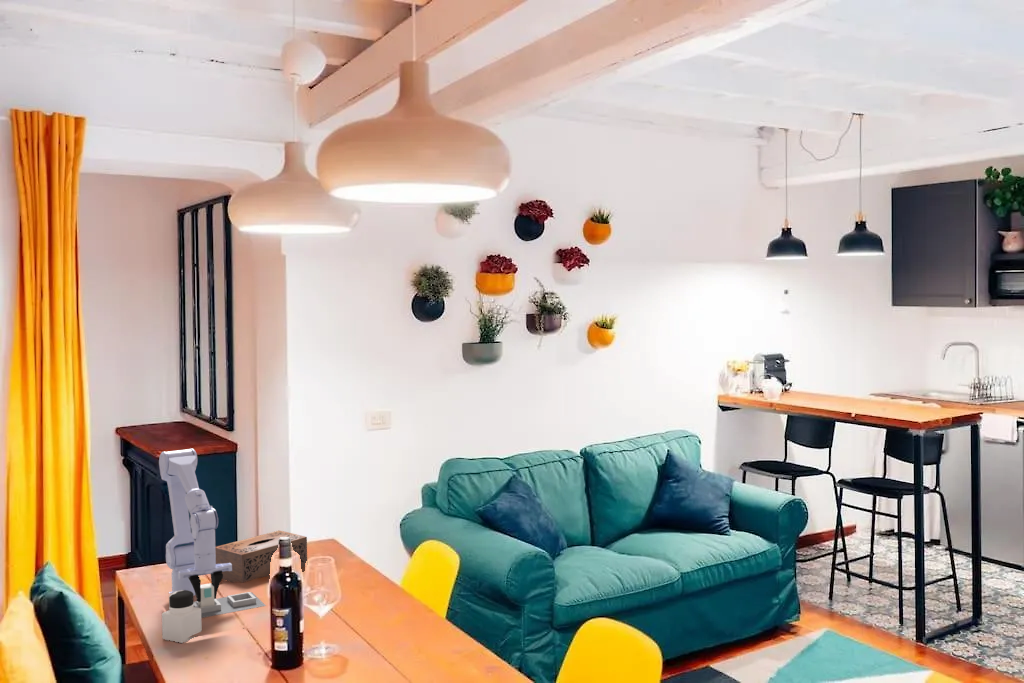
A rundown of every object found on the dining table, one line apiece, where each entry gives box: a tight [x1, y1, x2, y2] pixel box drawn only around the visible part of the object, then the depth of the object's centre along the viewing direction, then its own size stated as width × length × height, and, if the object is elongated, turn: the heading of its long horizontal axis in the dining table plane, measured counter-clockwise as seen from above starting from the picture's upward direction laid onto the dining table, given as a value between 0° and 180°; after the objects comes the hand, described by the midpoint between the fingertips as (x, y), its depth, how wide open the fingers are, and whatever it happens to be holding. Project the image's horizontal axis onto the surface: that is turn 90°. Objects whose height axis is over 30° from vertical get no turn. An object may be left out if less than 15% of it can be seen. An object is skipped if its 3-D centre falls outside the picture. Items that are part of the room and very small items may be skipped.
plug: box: [198, 582, 215, 607], centre depth 258 cm, size 4×4×6 cm
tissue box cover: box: [215, 530, 308, 583], centre depth 296 cm, size 26×14×10 cm, turn 143°
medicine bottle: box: [161, 590, 203, 644], centre depth 239 cm, size 7×7×12 cm
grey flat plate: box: [193, 591, 267, 619], centre depth 261 cm, size 14×20×2 cm
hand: (206, 599), depth 258 cm, fingers closed on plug, 4 cm apart
